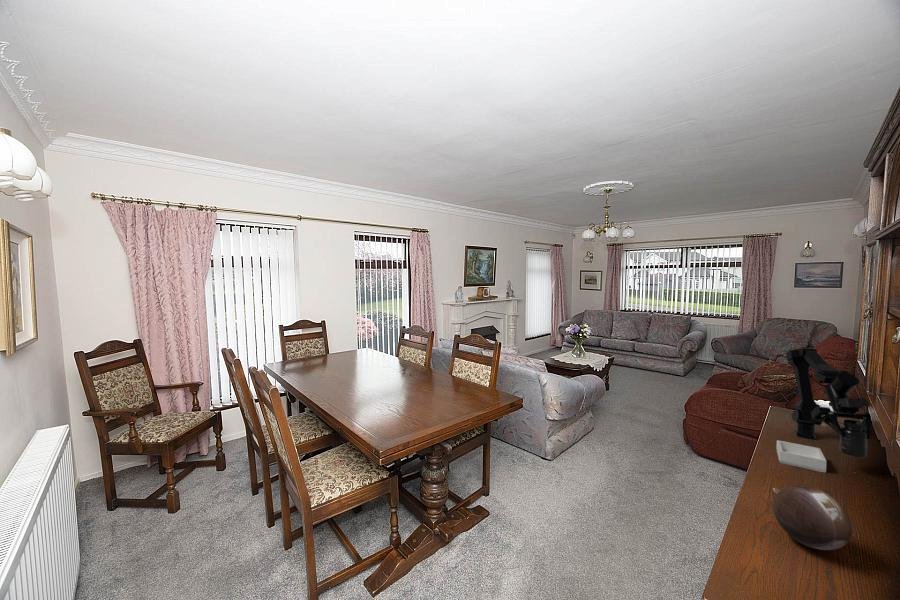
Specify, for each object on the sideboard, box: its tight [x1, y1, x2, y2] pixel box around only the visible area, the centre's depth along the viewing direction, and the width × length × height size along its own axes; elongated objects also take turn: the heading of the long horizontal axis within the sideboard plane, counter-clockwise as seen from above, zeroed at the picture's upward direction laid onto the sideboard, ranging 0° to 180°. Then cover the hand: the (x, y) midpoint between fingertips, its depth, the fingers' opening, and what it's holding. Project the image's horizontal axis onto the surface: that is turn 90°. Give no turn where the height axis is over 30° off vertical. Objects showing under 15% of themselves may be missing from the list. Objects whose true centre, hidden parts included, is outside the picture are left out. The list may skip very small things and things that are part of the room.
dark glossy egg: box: [772, 484, 853, 551], centre depth 97 cm, size 15×15×15 cm
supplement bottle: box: [838, 419, 868, 459], centre depth 133 cm, size 7×7×12 cm
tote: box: [776, 440, 827, 474], centre depth 141 cm, size 13×13×4 cm
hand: (855, 437), depth 132 cm, fingers closed on supplement bottle, 7 cm apart
